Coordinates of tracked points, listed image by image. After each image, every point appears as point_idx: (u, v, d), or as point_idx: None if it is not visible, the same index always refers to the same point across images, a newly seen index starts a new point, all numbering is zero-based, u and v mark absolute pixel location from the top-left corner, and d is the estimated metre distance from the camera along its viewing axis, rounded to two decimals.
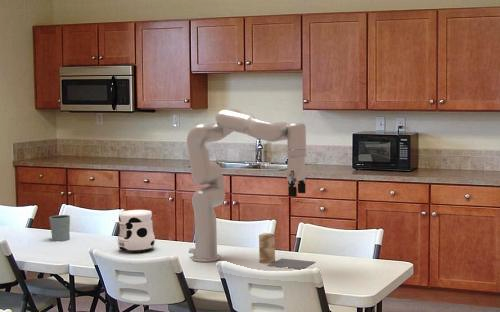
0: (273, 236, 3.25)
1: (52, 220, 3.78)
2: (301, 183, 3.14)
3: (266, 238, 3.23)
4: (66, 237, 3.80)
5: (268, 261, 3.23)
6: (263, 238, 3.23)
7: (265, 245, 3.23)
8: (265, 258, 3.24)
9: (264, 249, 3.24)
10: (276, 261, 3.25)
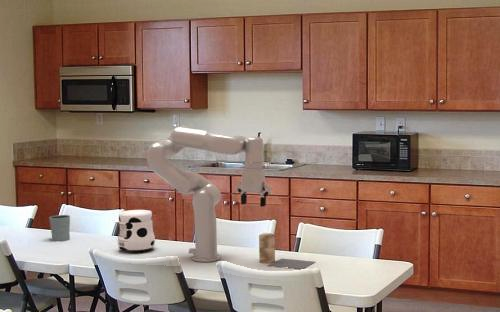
0: (273, 236, 3.25)
1: (52, 220, 3.78)
2: (244, 194, 3.28)
3: (266, 238, 3.23)
4: (66, 237, 3.80)
5: (268, 261, 3.23)
6: (263, 238, 3.23)
7: (265, 245, 3.23)
8: (265, 258, 3.24)
9: (264, 249, 3.24)
10: (276, 261, 3.25)
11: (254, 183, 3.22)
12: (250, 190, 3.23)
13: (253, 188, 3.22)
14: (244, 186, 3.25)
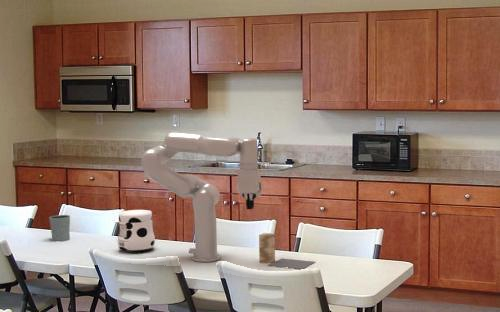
0: (273, 236, 3.25)
1: (52, 220, 3.78)
2: (249, 197, 3.28)
3: (266, 238, 3.23)
4: (66, 237, 3.80)
5: (268, 261, 3.23)
6: (263, 238, 3.23)
7: (265, 245, 3.23)
8: (265, 258, 3.24)
9: (264, 249, 3.24)
10: (276, 261, 3.25)
11: (251, 184, 3.24)
12: (247, 191, 3.25)
13: (250, 189, 3.24)
14: (240, 187, 3.26)
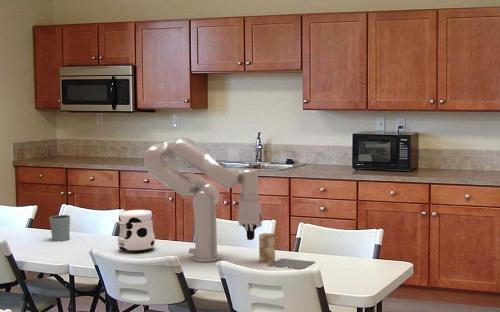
0: (273, 236, 3.25)
1: (52, 220, 3.78)
2: (250, 228, 3.29)
3: (266, 238, 3.23)
4: (66, 237, 3.80)
5: (268, 261, 3.23)
6: (263, 238, 3.23)
7: (265, 245, 3.23)
8: (265, 258, 3.24)
9: (264, 249, 3.24)
10: (276, 261, 3.25)
11: (251, 215, 3.25)
12: (247, 222, 3.26)
13: (250, 220, 3.25)
14: (241, 218, 3.27)
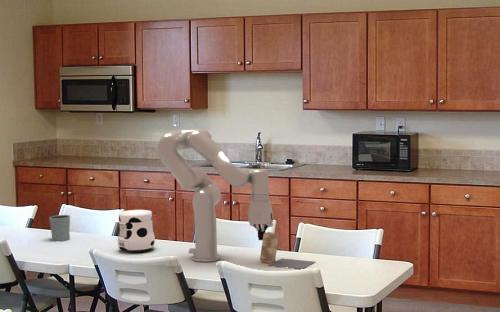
0: (277, 237, 3.25)
1: (52, 220, 3.78)
2: (261, 228, 3.27)
3: (270, 238, 3.22)
4: (66, 237, 3.80)
5: (268, 261, 3.23)
6: (268, 238, 3.22)
7: (268, 245, 3.23)
8: (266, 257, 3.24)
9: (266, 248, 3.23)
10: (276, 261, 3.25)
11: (262, 215, 3.22)
12: (258, 222, 3.24)
13: (261, 220, 3.23)
14: (252, 218, 3.25)
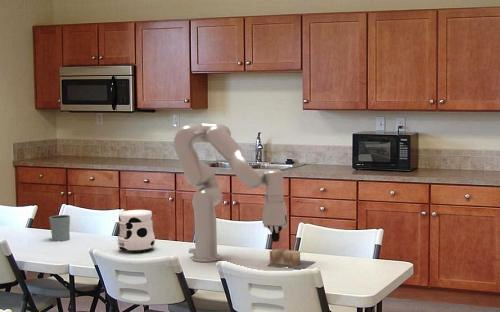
0: None
1: (52, 220, 3.78)
2: (275, 229, 3.23)
3: (292, 262, 3.18)
4: (66, 237, 3.80)
5: (271, 261, 3.23)
6: (292, 258, 3.18)
7: (286, 259, 3.19)
8: (274, 258, 3.22)
9: (282, 258, 3.20)
10: None
11: (276, 216, 3.19)
12: (272, 223, 3.20)
13: (276, 221, 3.20)
14: (266, 220, 3.22)
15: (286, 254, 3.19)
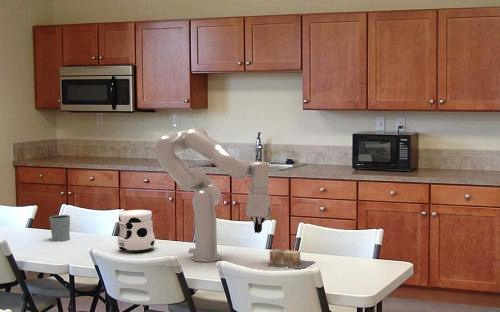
0: None
1: (52, 220, 3.78)
2: (258, 220, 3.26)
3: (292, 262, 3.18)
4: (66, 237, 3.80)
5: (271, 261, 3.23)
6: (292, 258, 3.18)
7: (286, 259, 3.19)
8: (274, 258, 3.22)
9: (282, 258, 3.20)
10: None
11: (260, 208, 3.22)
12: (256, 215, 3.23)
13: (259, 213, 3.22)
14: (249, 210, 3.24)
15: (286, 254, 3.19)
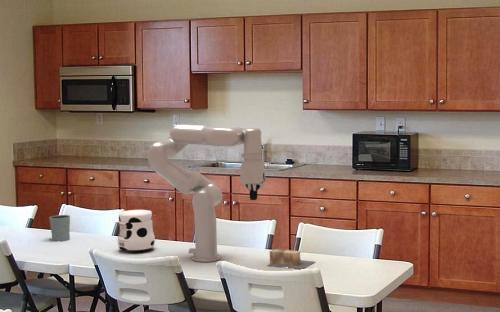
0: None
1: (52, 220, 3.78)
2: (253, 188, 3.24)
3: (292, 262, 3.18)
4: (66, 237, 3.80)
5: (271, 261, 3.23)
6: (292, 258, 3.18)
7: (286, 259, 3.19)
8: (274, 258, 3.22)
9: (282, 258, 3.20)
10: None
11: (254, 174, 3.20)
12: (250, 182, 3.21)
13: (253, 179, 3.20)
14: (244, 178, 3.23)
15: (286, 254, 3.19)
